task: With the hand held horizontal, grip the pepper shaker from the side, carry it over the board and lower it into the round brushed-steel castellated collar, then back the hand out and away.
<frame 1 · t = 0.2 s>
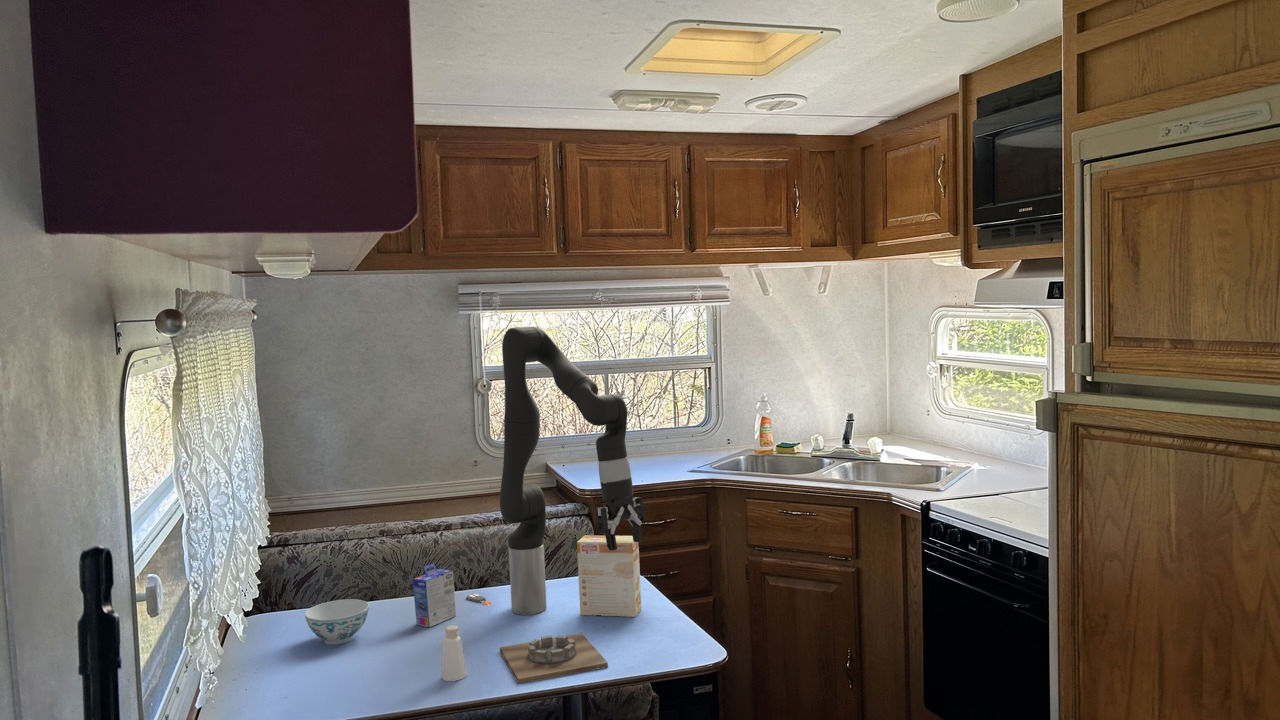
hand: (625, 545, 211), 22 cm above the table, tool pointing down, fingers open, 8 cm apart
pepper shaker: (454, 677, 194), on the table
collar board: (552, 659, 201), on the table
ink cartridge box: (436, 621, 230), on the table
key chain: (483, 604, 244), on the table
coffeecake box: (611, 612, 231), on the table
chinaware: (339, 640, 219), on the table
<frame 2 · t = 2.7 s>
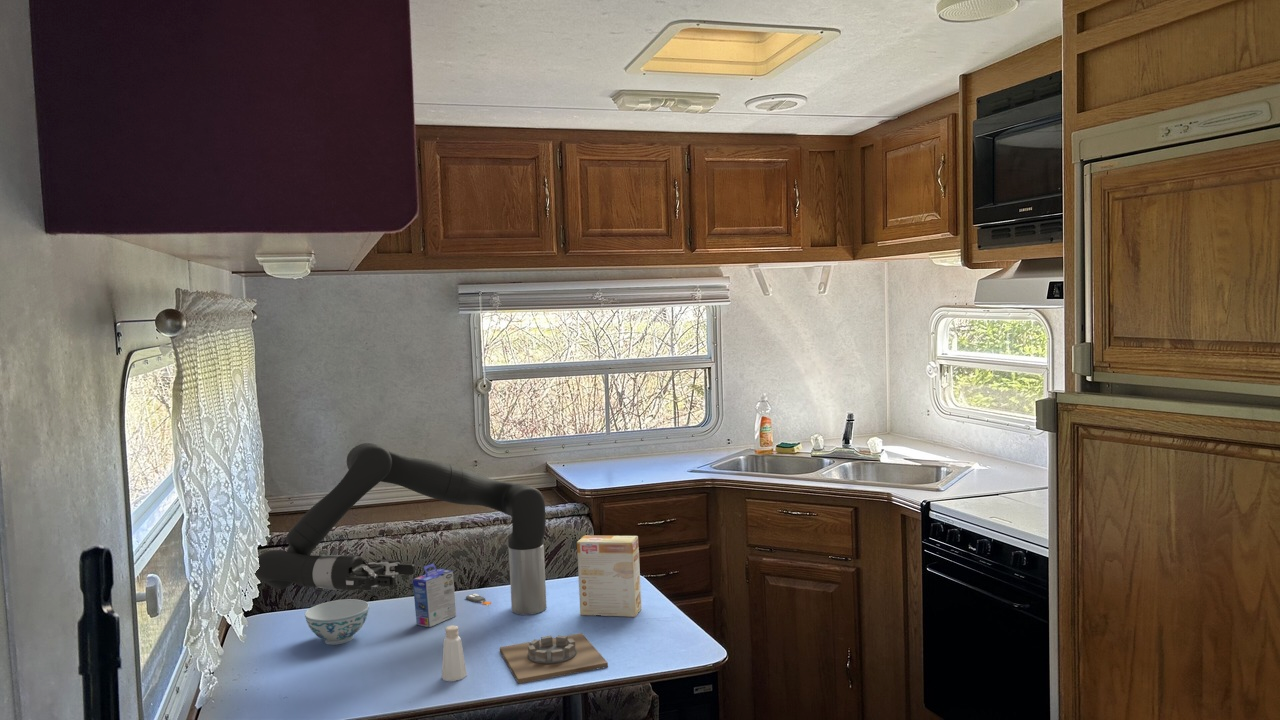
hand: (404, 575, 195), 22 cm above the table, tool horizontal, fingers open, 8 cm apart
nothing on the table moved.
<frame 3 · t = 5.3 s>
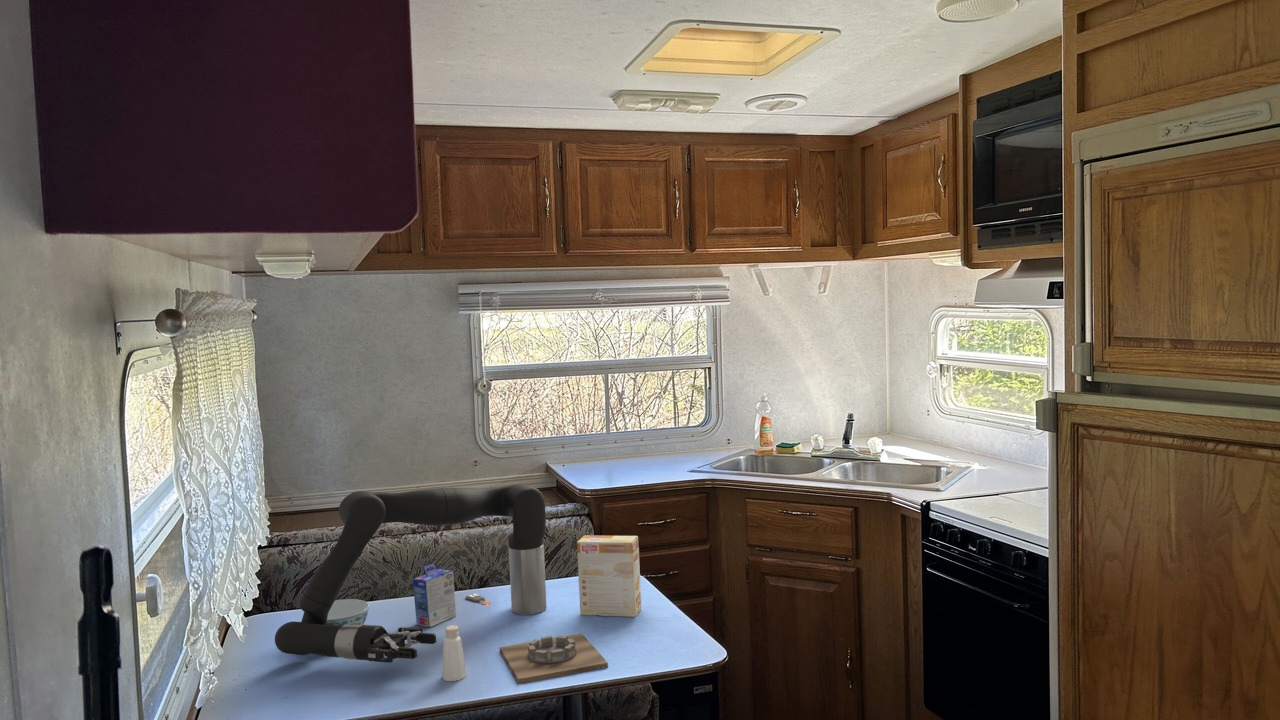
hand: (425, 646, 195), 6 cm above the table, tool horizontal, fingers open, 8 cm apart
nothing on the table moved.
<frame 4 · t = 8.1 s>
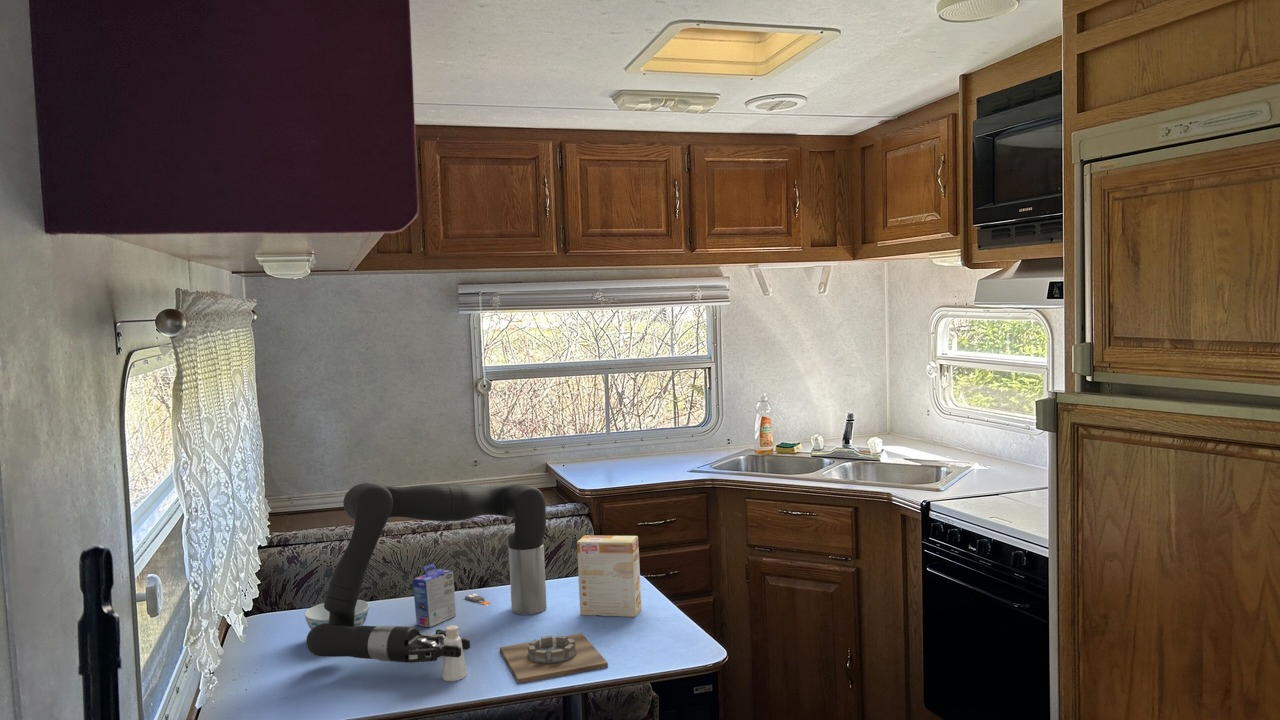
hand: (464, 647, 193), 7 cm above the table, tool horizontal, fingers closed on pepper shaker, 3 cm apart
pepper shaker: (454, 677, 194), on the table, touching gripper
everything else where it was.
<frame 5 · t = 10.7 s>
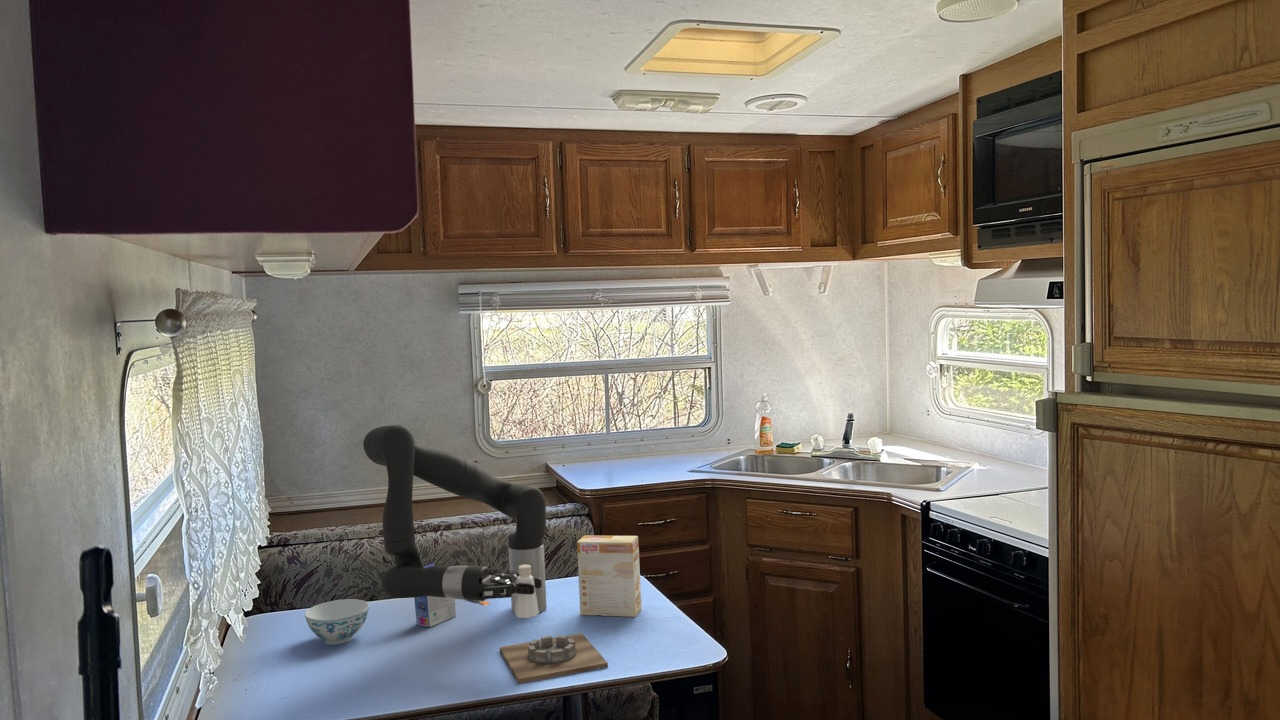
hand: (537, 586, 198), 18 cm above the table, tool horizontal, fingers closed on pepper shaker, 3 cm apart
pepper shaker: (526, 615, 199), point 11 cm above the table, touching gripper
everything else where it was.
when the fingers open (9 cm above the table, at t = 13.5 s): pepper shaker drops 1 cm, resting on collar board.
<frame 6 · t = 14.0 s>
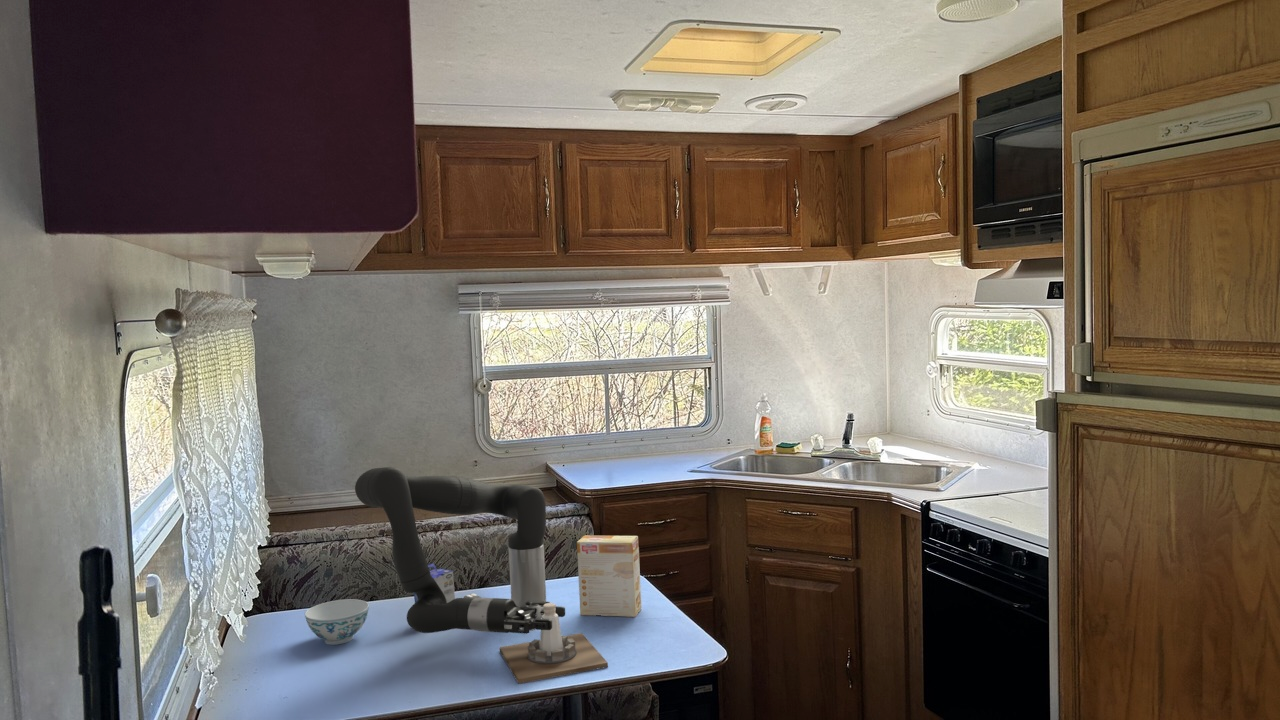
hand: (558, 618, 200), 10 cm above the table, tool horizontal, fingers open, 8 cm apart
pepper shaker: (551, 652, 201), point 1 cm above the table, touching collar board
everything else where it was.
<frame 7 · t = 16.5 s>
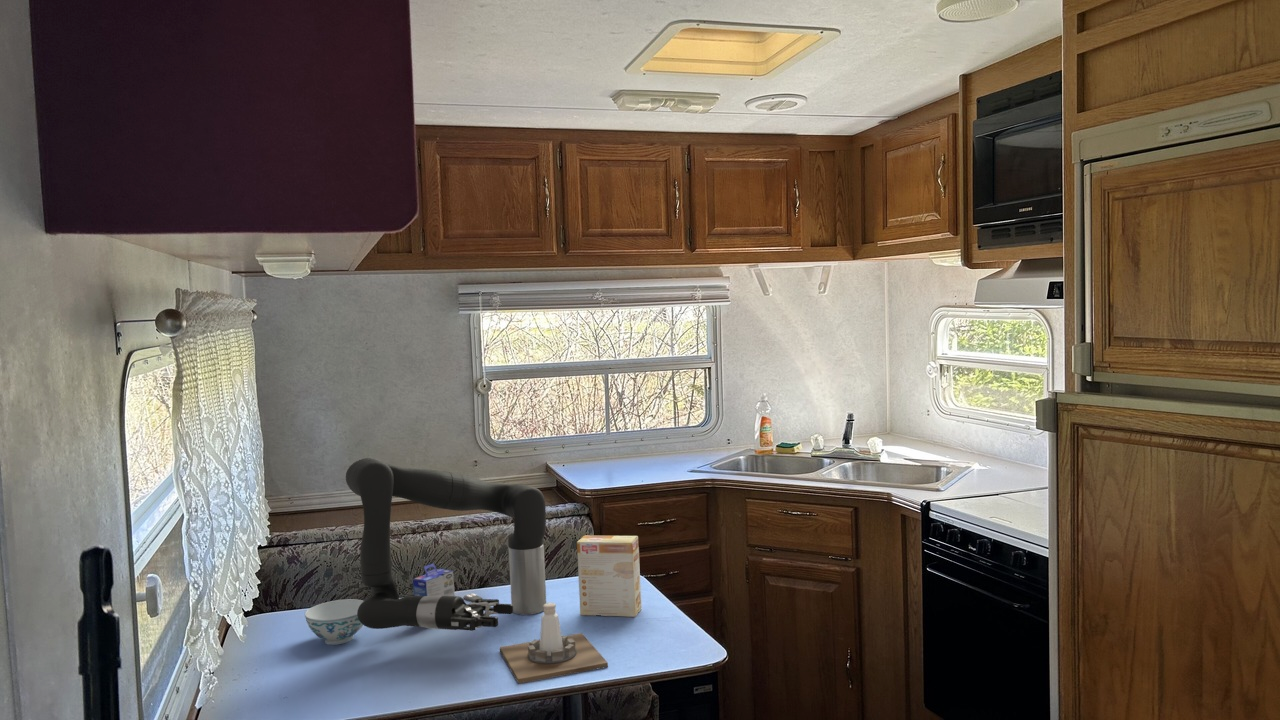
hand: (505, 615, 203), 10 cm above the table, tool horizontal, fingers open, 8 cm apart
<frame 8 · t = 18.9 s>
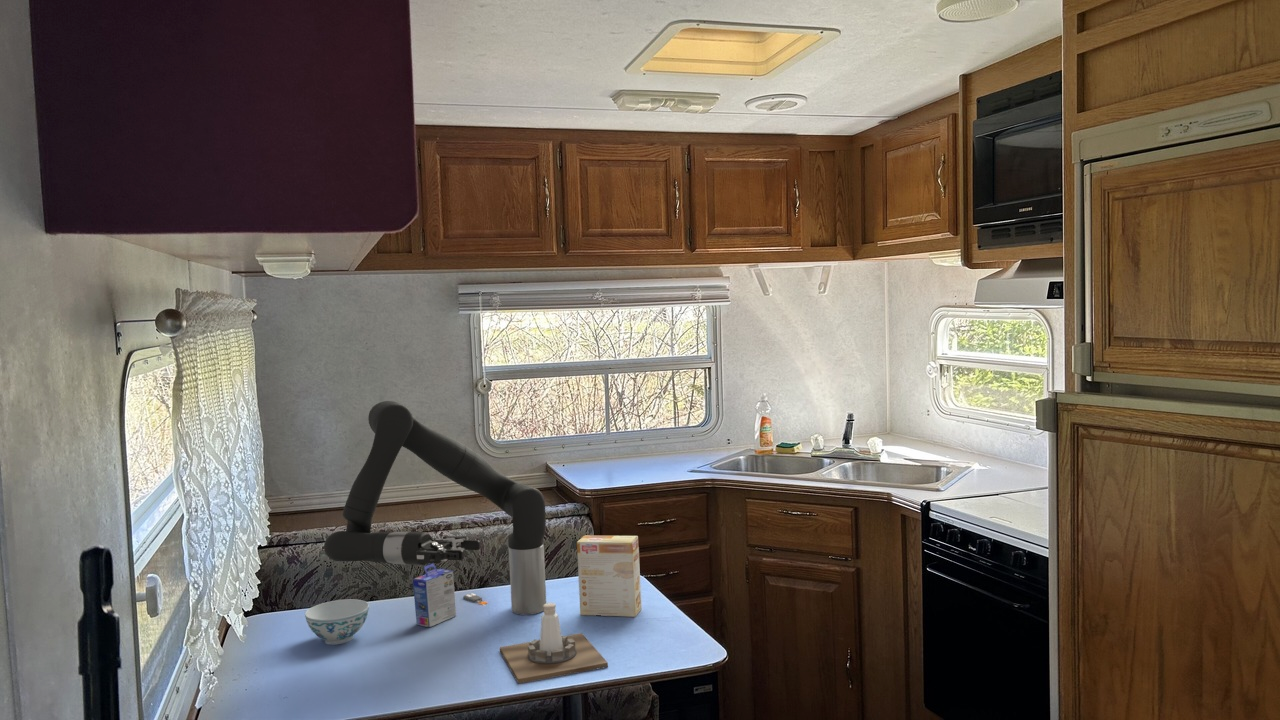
hand: (471, 550, 203), 25 cm above the table, tool horizontal, fingers open, 8 cm apart
at the end: pepper shaker 0.3 cm off-centre on the collar board, point 1.3 cm above the collar board's base; pepper shaker tilted 0°; the gripper is holding nothing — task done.
